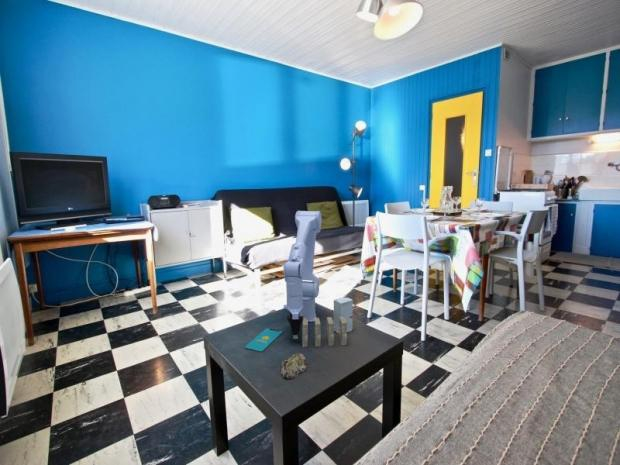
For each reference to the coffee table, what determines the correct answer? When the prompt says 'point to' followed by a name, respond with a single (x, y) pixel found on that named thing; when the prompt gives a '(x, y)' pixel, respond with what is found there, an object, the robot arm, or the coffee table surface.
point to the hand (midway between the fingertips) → (295, 329)
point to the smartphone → (263, 340)
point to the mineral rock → (293, 366)
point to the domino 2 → (317, 332)
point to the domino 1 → (304, 332)
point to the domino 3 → (330, 331)
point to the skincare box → (343, 313)
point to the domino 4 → (343, 331)
